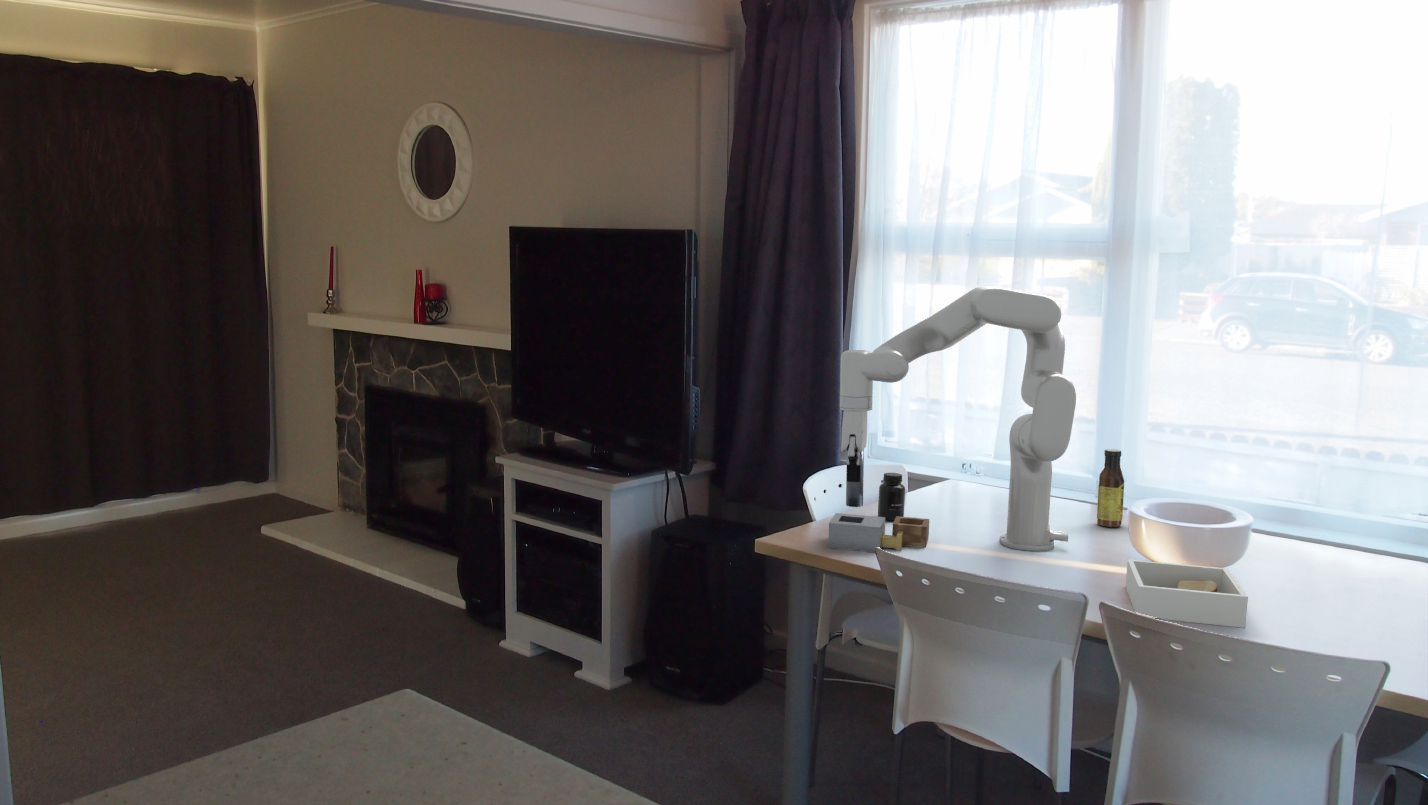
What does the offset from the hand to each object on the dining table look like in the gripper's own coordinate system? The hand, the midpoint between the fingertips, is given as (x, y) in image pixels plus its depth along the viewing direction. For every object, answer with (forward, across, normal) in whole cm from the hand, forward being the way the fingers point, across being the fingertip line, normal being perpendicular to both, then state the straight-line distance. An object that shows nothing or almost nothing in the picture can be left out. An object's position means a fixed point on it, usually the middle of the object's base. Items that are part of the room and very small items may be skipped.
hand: (854, 478), depth 241 cm
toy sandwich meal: (+18, +21, +69) cm, 74 cm away
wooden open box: (+16, -7, +13) cm, 22 cm away
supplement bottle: (+16, -28, +6) cm, 33 cm away
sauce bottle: (+18, -41, +61) cm, 75 cm away
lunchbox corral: (+17, +23, +69) cm, 75 cm away
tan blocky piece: (+16, 0, +7) cm, 17 cm away
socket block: (+16, 0, +1) cm, 16 cm away
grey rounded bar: (+6, 0, 0) cm, 6 cm away
